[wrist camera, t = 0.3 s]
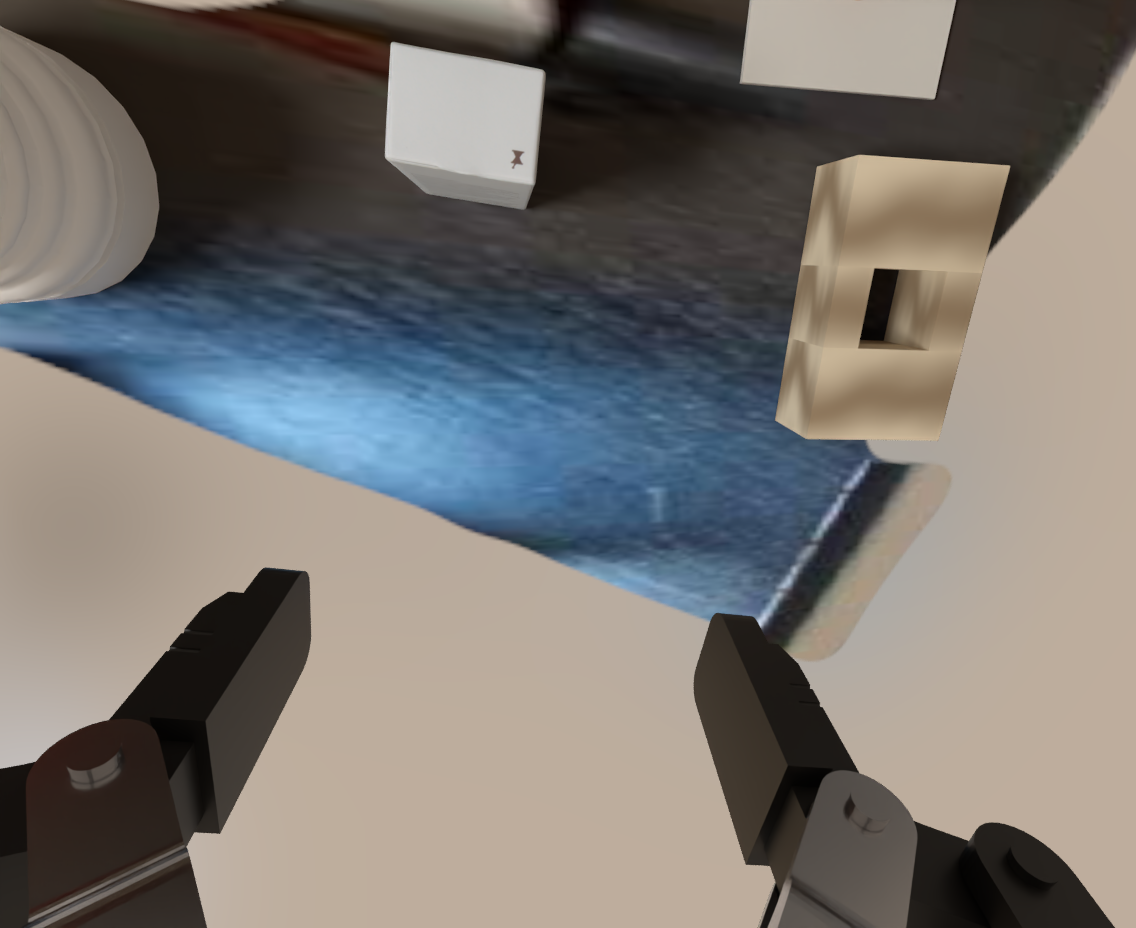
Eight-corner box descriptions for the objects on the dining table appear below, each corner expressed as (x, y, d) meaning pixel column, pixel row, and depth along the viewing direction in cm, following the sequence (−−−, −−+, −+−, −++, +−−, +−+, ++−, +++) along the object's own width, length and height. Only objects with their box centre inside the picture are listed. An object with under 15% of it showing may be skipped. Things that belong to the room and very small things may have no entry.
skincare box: (534, 131, 34) (551, 68, 23) (526, 211, 35) (537, 189, 24) (426, 111, 33) (387, 35, 22) (421, 194, 34) (383, 164, 23)
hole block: (817, 166, 36) (859, 154, 32) (952, 176, 37) (1010, 165, 33) (775, 420, 41) (806, 439, 37) (894, 422, 42) (938, 440, 38)
